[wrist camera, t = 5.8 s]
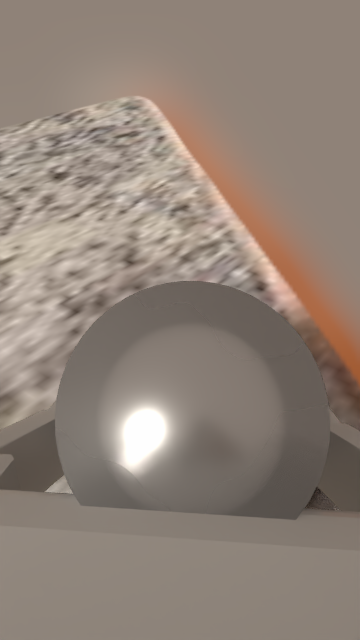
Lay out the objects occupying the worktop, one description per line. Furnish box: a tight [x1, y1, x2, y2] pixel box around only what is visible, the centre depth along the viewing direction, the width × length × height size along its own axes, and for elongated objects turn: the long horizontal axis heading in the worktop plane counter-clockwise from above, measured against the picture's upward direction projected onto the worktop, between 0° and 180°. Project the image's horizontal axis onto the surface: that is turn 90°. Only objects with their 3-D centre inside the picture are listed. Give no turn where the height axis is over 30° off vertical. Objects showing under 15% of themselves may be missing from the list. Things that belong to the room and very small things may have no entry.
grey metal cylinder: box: [55, 281, 330, 520], centre depth 9 cm, size 5×5×10 cm
